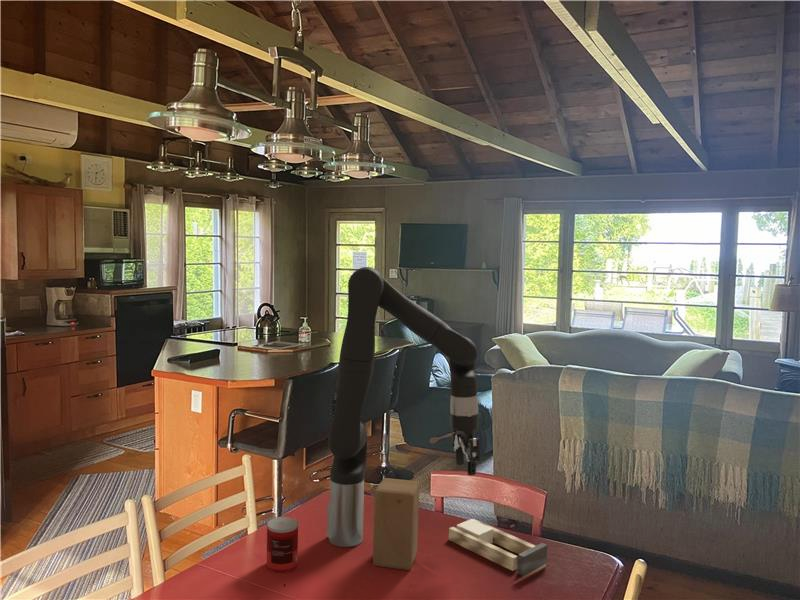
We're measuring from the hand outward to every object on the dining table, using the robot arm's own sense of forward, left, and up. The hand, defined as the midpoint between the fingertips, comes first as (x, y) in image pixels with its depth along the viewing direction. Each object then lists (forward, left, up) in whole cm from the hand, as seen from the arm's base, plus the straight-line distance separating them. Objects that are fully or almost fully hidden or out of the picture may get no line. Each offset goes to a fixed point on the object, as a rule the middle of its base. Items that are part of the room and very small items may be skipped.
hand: (465, 469), depth 173 cm
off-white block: (+2, +2, -20) cm, 20 cm away
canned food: (-21, -45, -21) cm, 54 cm away
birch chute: (+8, +2, -21) cm, 23 cm away
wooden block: (-5, -21, -21) cm, 30 cm away
